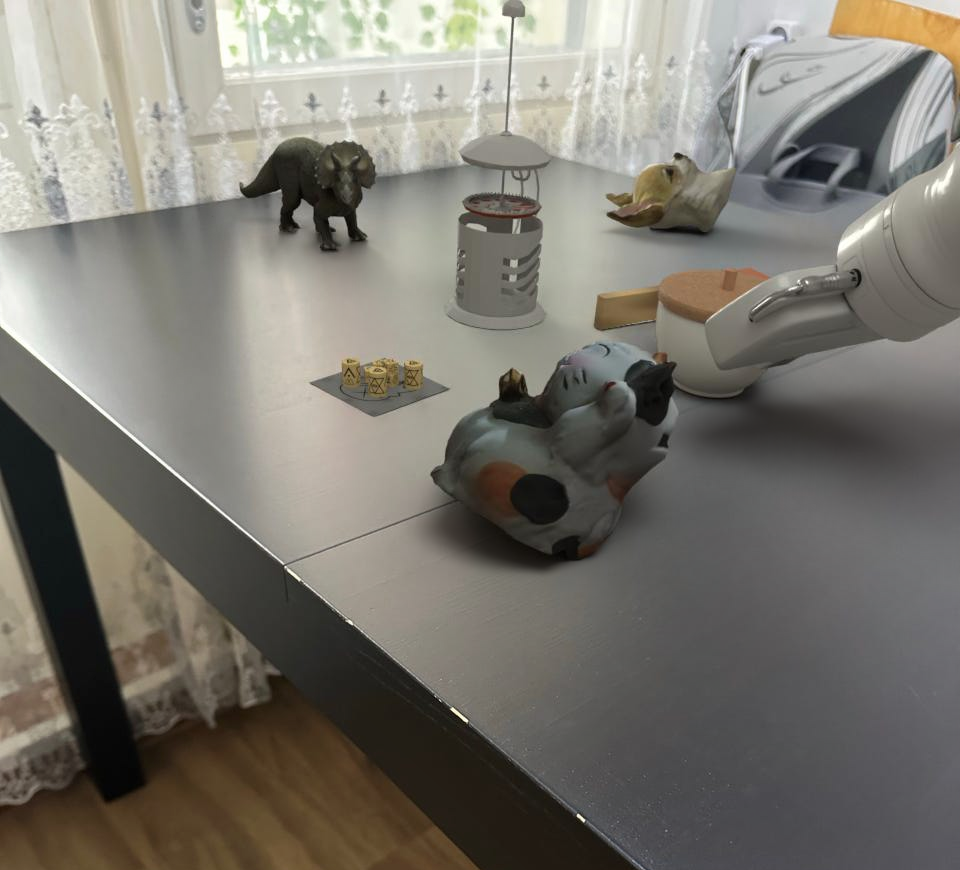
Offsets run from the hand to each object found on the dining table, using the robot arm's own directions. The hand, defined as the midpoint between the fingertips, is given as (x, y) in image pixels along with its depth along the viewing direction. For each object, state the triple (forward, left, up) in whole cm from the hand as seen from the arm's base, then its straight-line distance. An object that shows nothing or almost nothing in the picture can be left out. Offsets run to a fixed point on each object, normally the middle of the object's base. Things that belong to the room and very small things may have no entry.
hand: (767, 358), depth 74 cm
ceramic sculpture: (-25, -45, -5) cm, 52 cm away
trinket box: (0, -6, -5) cm, 7 cm away
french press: (+8, -28, -5) cm, 29 cm away
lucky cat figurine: (+24, +6, -5) cm, 25 cm away
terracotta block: (-13, -17, -4) cm, 22 cm away
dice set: (+26, -16, -5) cm, 31 cm away
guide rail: (-6, -20, -4) cm, 21 cm away
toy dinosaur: (+16, -55, -5) cm, 57 cm away
